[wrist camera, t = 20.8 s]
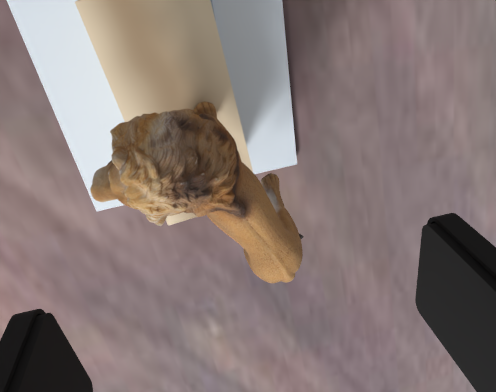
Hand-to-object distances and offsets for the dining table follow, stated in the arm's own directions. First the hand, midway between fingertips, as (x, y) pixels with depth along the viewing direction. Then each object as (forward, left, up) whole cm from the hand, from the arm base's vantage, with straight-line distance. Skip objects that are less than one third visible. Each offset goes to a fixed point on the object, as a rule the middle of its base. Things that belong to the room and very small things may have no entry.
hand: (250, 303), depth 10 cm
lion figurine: (0, +3, -14) cm, 15 cm away
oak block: (+1, 0, -20) cm, 20 cm away
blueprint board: (+1, 0, -21) cm, 21 cm away
